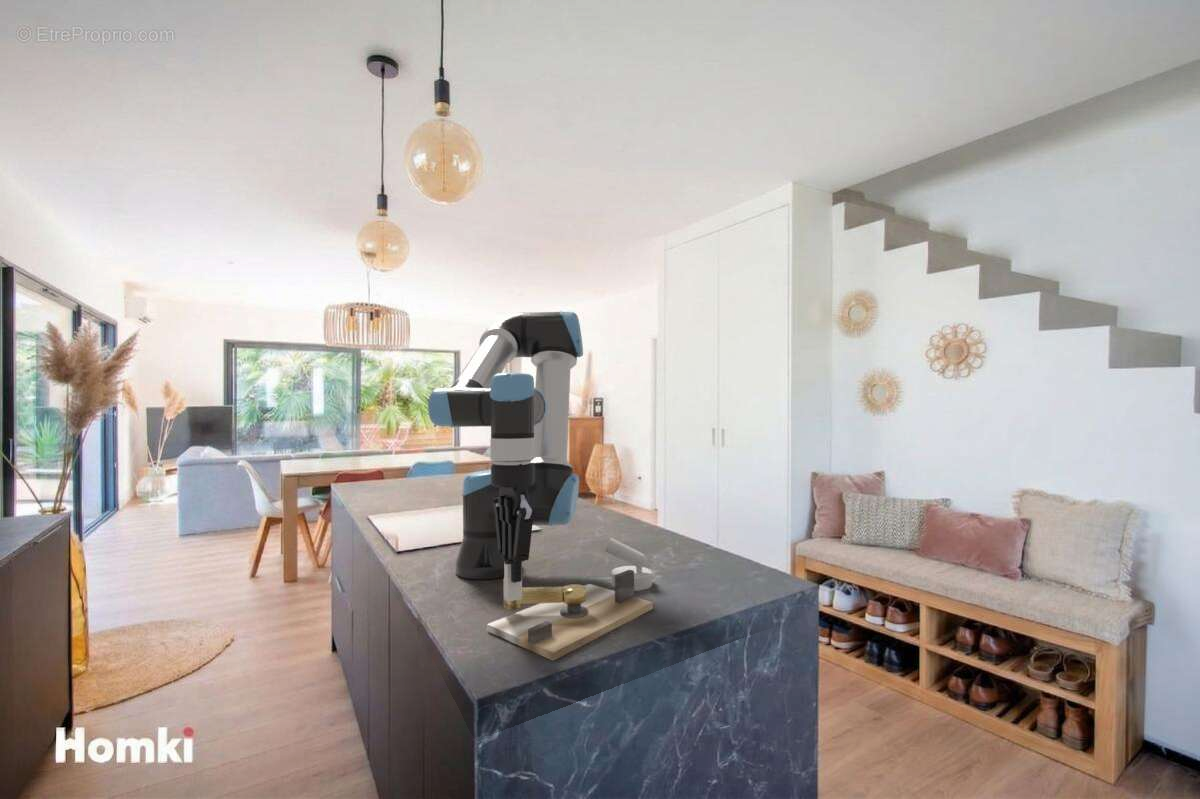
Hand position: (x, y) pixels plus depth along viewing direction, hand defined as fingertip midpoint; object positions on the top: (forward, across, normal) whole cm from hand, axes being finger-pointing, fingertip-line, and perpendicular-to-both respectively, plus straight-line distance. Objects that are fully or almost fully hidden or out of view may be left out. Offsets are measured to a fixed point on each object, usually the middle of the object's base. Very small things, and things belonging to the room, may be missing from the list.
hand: (513, 598), depth 91 cm
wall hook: (+5, +6, -30) cm, 31 cm away
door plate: (+5, -3, -10) cm, 12 cm away
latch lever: (+2, -1, -6) cm, 6 cm away
